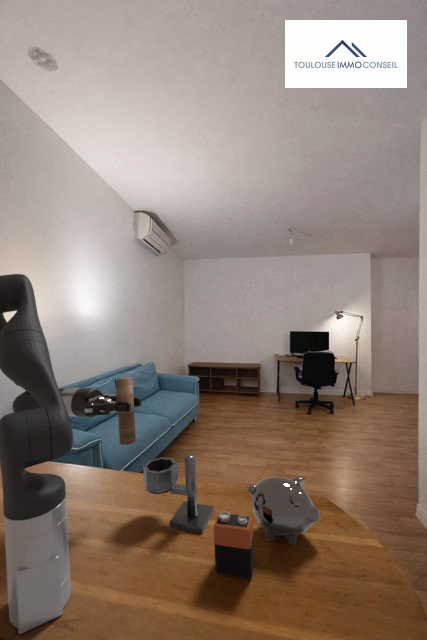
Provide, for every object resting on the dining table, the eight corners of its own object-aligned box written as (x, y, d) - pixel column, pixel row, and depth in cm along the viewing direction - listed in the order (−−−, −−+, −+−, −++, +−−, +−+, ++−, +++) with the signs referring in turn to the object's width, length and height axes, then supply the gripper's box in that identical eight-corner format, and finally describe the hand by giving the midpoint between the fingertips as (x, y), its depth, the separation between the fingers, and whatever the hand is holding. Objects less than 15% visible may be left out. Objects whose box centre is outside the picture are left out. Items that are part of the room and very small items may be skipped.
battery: (220, 556, 61) (218, 506, 61) (254, 561, 59) (252, 510, 59) (215, 574, 57) (212, 521, 57) (251, 581, 55) (249, 525, 55)
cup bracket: (140, 521, 73) (136, 458, 73) (156, 501, 80) (153, 444, 80) (202, 533, 68) (199, 465, 68) (213, 511, 75) (210, 450, 75)
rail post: (137, 442, 77) (134, 378, 77) (121, 446, 75) (118, 381, 75) (133, 437, 81) (130, 376, 81) (117, 440, 79) (114, 378, 79)
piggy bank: (320, 560, 59) (317, 501, 59) (244, 544, 64) (241, 489, 64) (320, 522, 69) (318, 472, 69) (255, 511, 74) (253, 464, 74)
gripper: (58, 394, 76) (117, 396, 70) (97, 382, 89) (149, 383, 84) (60, 425, 76) (119, 429, 70) (98, 408, 89) (150, 411, 84)
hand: (135, 404), depth 77 cm, fingers closed on rail post, 4 cm apart
